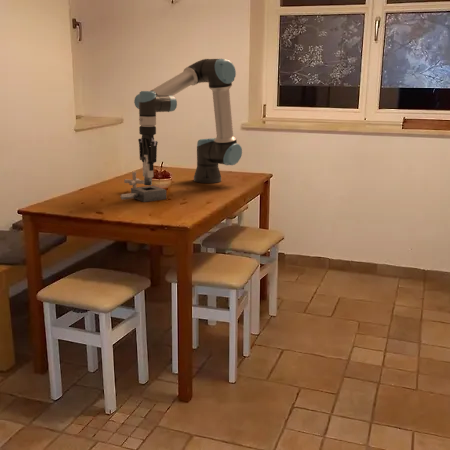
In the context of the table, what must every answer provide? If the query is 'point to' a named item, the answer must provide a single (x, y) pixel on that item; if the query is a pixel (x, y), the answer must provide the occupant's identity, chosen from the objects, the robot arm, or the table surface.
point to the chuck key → (146, 180)
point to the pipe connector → (134, 180)
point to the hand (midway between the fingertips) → (148, 176)
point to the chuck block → (146, 194)
